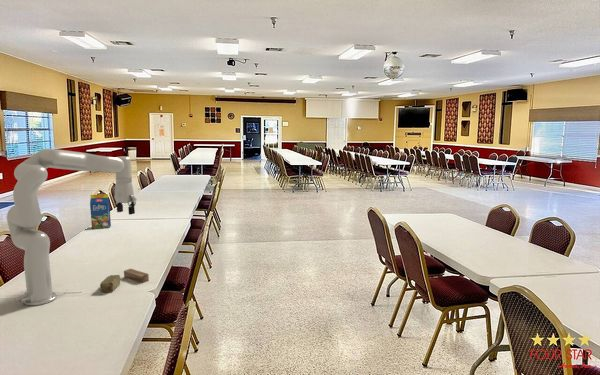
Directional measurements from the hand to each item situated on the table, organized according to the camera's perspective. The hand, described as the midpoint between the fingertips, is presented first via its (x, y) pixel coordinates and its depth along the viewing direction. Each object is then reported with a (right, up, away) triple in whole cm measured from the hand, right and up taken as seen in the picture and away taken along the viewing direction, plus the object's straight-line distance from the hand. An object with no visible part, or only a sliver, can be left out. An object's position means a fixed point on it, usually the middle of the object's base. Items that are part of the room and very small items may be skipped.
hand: (125, 212), depth 219 cm
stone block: (+1, -35, -19) cm, 40 cm away
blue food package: (-58, -17, +95) cm, 112 cm away
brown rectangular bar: (+8, -33, -8) cm, 35 cm away
